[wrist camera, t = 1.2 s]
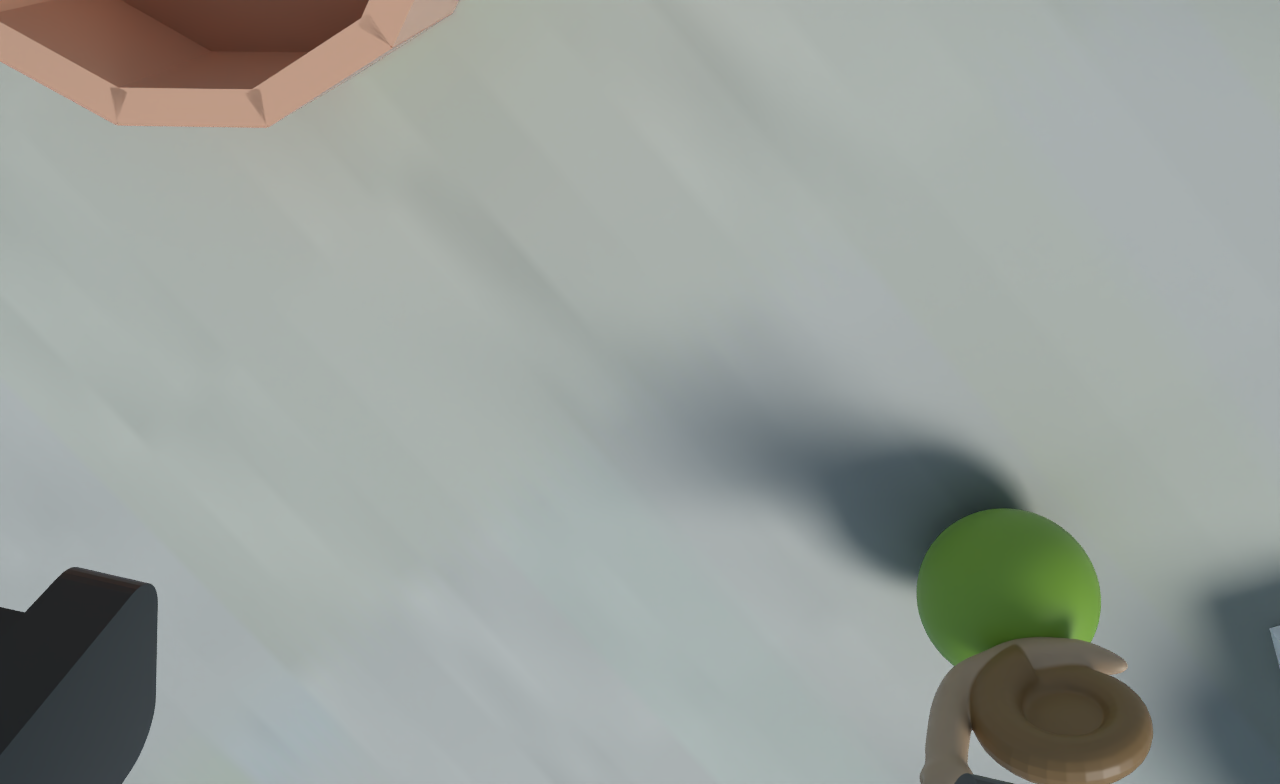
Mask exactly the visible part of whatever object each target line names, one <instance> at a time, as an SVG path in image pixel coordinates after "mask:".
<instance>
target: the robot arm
mask: <svg viewBox="0 0 1280 784" xmlns="http://www.w3.org/2000/svg"><path fill="white" fill-rule="evenodd" d="M157 612H158V599H157V592H156V590H155V587H154V586H153V585H151V584H149V583H145V582H140V581H136V580H132V579H127V578H123V577H118V576H114V575H110V574H105V573H101V572H96V571H92V570H88V569H83V568H79V567H73V568H70V569H68V570H66V571H65V572H63V573H62V574H61V575H60V576H59V577H58V578H57V579H56V580H55V581H54V582H53V583H52V584H51V585H50V586H49V587H48V589H47V590H46V591H45V592H44V593H43V594H42V595H41V596H40V597H39V598H38V599H37V600H36V601H35V602H34V603H33V604H32V606H31V607H30V608H29V609H28V610H27V611H26V612H25V613H24V612H20V611H15V610H11V609H6V608H2V607H0V784H122V783H123V781H124V780H125V778H126V777H127V775H128V774H129V772H130V771H131V769H132V767H133V766H134V764H135V762H136V761H137V759H138V757H139V755H140V753H141V751H142V748H143V746H144V744H145V741H146V739H147V736H148V733H149V730H150V726H151V723H152V719H153V715H154V709H155V700H156V659H157ZM954 784H1013V783H1009V782H1004V781H1000V780H996V779H991V778H987V777H983V776H978V775H974V774H969V773H965V774H962V775H961V776H960V777H959V778H958V779H957V780H956V782H955V783H954Z"/></svg>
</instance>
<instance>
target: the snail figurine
mask: <svg viewBox="0 0 1280 784" xmlns="http://www.w3.org/2000/svg"><path fill="white" fill-rule="evenodd" d="M917 605H918V610H919V614H920V618H921V621H922V624H923V626H924V629H925V631H926V633H927V635H928V637H929V638H930V640H931V642H932V643H933V644H934V646H935V647H936V649H937V650H938V651H939V652H940V653H941V654H942V655H943V657H945V658H946V659H947V660H948V661H949V662H950V663H951V664H952V665H954V667H953V668H952V669H951V670H950V671H949V672H948V673H947V674H946V676H945V677H944V679H943V680H942V682H941V683H940V685H939V687H938V689H937V692H936V694H935V697H934V699H933V702H932V706H931V710H930V715H929V721H928V729H927V736H926V745H925V754H926V759H925V765H924V767H923V769H922V771H921V773H920V782H921V784H954V783H955V782H956V780H957V779H958V778H959V777H960V776H961V775H962V774H965V773H969V774H973V773H972V771H971V770H970V768H969V767H968V764H967V760H968V749H969V741H970V734H971V731H972V730H973V731H974V733H975V735H976V737H977V739H978V741H979V742H980V744H981V745H982V747H983V748H984V750H985V751H986V752H987V753H988V754H989V755H990V756H991V757H992V758H993V759H994V760H995V761H996V762H997V763H998V764H1000V765H1001V766H1002V767H1004V768H1005V769H1007V770H1009V771H1010V772H1012V773H1013V774H1015V775H1017V776H1019V777H1021V778H1023V779H1026V780H1028V781H1030V782H1033V783H1036V784H1111V783H1114V782H1116V781H1118V780H1120V779H1122V778H1124V777H1125V776H1127V775H1129V774H1130V773H1132V772H1133V771H1134V770H1135V769H1136V768H1137V767H1138V766H1139V765H1141V764H1142V762H1143V761H1144V759H1145V758H1146V756H1147V754H1148V752H1149V750H1150V747H1151V743H1152V739H1153V726H1152V720H1151V717H1150V714H1149V712H1148V709H1147V707H1146V705H1145V704H1144V702H1143V701H1142V700H1141V698H1140V697H1139V696H1138V695H1137V694H1136V693H1135V692H1134V691H1133V690H1132V689H1131V688H1130V687H1128V686H1127V685H1126V684H1124V683H1123V682H1121V681H1119V680H1118V679H1116V678H1114V677H1112V676H1109V675H1113V674H1118V673H1122V672H1124V671H1125V670H1126V669H1127V667H1128V665H1127V663H1126V661H1125V660H1124V659H1122V658H1121V657H1120V656H1118V655H1116V654H1115V653H1113V652H1111V651H1109V650H1107V649H1105V648H1102V647H1100V646H1098V645H1095V644H1092V643H1091V641H1092V639H1093V637H1094V634H1095V632H1096V629H1097V626H1098V622H1099V617H1100V610H1101V595H1100V587H1099V582H1098V579H1097V575H1096V572H1095V570H1094V567H1093V565H1092V563H1091V561H1090V559H1089V557H1088V556H1087V554H1086V553H1085V551H1084V550H1083V548H1082V547H1081V546H1080V544H1079V543H1078V542H1077V541H1076V540H1075V539H1074V538H1073V537H1072V536H1071V535H1070V534H1069V533H1068V532H1067V531H1065V530H1064V529H1063V528H1062V527H1060V526H1059V525H1057V524H1056V523H1054V522H1052V521H1051V520H1049V519H1047V518H1045V517H1042V516H1040V515H1037V514H1034V513H1031V512H1028V511H1024V510H1018V509H1008V508H1000V509H989V510H984V511H980V512H976V513H973V514H970V515H968V516H966V517H964V518H962V519H960V520H958V521H956V522H955V523H953V524H952V525H950V526H949V527H948V528H947V529H945V530H944V531H943V532H942V533H941V534H940V535H939V536H938V537H937V538H936V540H935V541H934V542H933V543H932V545H931V546H930V548H929V549H928V551H927V553H926V555H925V557H924V559H923V561H922V564H921V567H920V571H919V575H918V580H917Z"/></svg>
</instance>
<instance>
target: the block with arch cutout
mask: <svg viewBox="0 0 1280 784" xmlns="http://www.w3.org/2000/svg"><path fill="white" fill-rule="evenodd" d="M1269 629H1270V633H1271V637H1272V640H1273V644H1274V648H1275V652H1276V656H1277V659H1278V663H1279V667H1280V625H1279V626H1276V627H1272V628H1269Z"/></svg>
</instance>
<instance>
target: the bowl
mask: <svg viewBox="0 0 1280 784" xmlns="http://www.w3.org/2000/svg"><path fill="white" fill-rule="evenodd" d="M458 2H459V0H0V62H2V63H4V64H6V65H8V66H10V67H11V68H13V69H15V70H17V71H19V72H21V73H22V74H24V75H26V76H28V77H30V78H31V79H33V80H35V81H37V82H39V83H41V84H42V85H44V86H46V87H48V88H50V89H51V90H53V91H55V92H57V93H59V94H61V95H62V96H64V97H66V98H68V99H70V100H72V101H73V102H75V103H77V104H79V105H81V106H82V107H84V108H86V109H88V110H90V111H92V112H93V113H95V114H97V115H99V116H101V117H102V118H104V119H106V120H108V121H110V122H112V123H113V124H115V125H117V124H118V125H125V126H188V127H252V128H267V127H270V126H271V125H273V124H275V123H276V122H278V121H280V120H281V119H283V118H285V117H286V116H288V115H290V114H291V113H293V112H295V111H297V110H298V109H300V108H302V107H303V106H305V105H307V104H308V103H310V102H312V101H313V100H315V99H317V98H318V97H320V96H322V95H323V94H325V93H327V92H328V91H330V90H332V89H333V88H335V87H337V86H338V85H340V84H342V83H343V82H345V81H347V80H348V79H350V78H352V77H353V76H355V75H356V74H358V73H359V72H361V71H363V70H364V69H366V68H367V67H369V66H371V65H372V64H374V63H375V62H377V61H378V60H380V59H382V58H383V57H385V56H386V55H388V54H389V53H391V52H393V51H394V50H396V49H397V48H399V47H400V46H402V45H404V44H405V43H407V42H408V41H410V40H411V39H413V38H415V37H416V36H418V35H419V34H421V33H422V32H424V31H426V30H427V29H429V28H430V27H432V26H433V25H435V24H437V23H438V22H440V21H441V20H443V19H444V18H446V17H448V16H449V15H451V14H452V13H453V12H454V10H455V8H456V6H457V4H458Z"/></svg>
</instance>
